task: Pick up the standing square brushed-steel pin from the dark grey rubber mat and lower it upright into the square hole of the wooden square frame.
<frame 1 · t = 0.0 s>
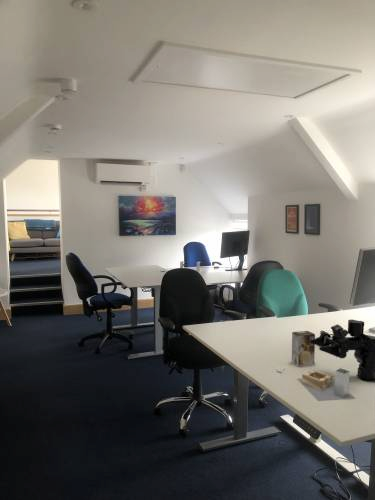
hand: (314, 345, 176), 17 cm above the table, tool horizontal, fingers open, 9 cm apart
steel pin: (341, 394, 164), resting on rubber mat
pliers: (279, 376, 184), on the table
wooden square frame: (317, 384, 174), resting on rubber mat
rubber mat: (324, 389, 170), on the table
coffee box: (302, 365, 197), on the table
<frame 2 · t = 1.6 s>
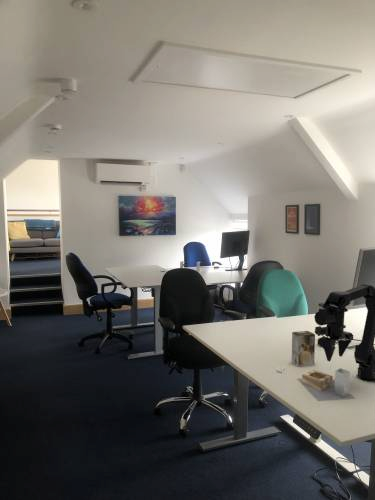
hand: (334, 358, 169), 13 cm above the table, tool pointing down, fingers open, 9 cm apart
nothing on the table moved.
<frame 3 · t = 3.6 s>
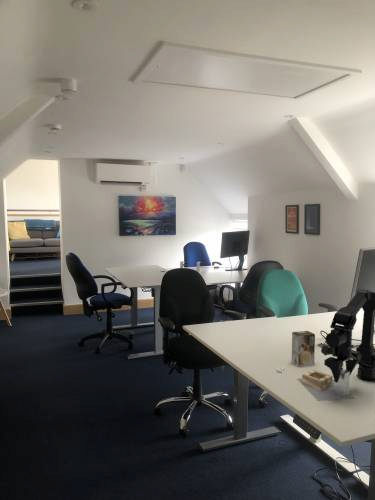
hand: (342, 379, 163), 7 cm above the table, tool pointing down, fingers open, 9 cm apart
nothing on the table moved.
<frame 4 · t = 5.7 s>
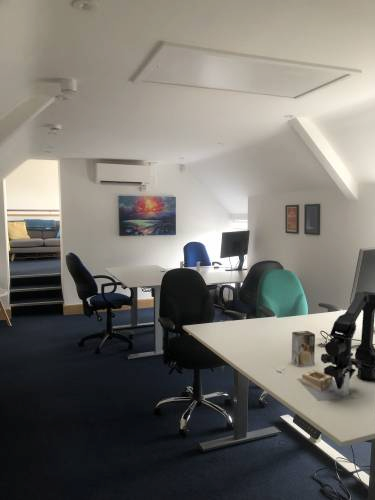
hand: (341, 387, 164), 4 cm above the table, tool pointing down, fingers closed on steel pin, 4 cm apart
steel pin: (341, 394, 164), resting on rubber mat, touching gripper
everything else where it was.
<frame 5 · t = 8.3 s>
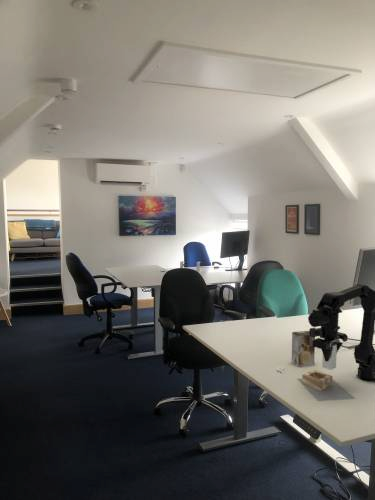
hand: (329, 360, 168), 13 cm above the table, tool pointing down, fingers closed on steel pin, 4 cm apart
steel pin: (329, 367, 168), point 10 cm above the table, touching gripper
everything else where it was.
when the fingers open (6 cm above the table, at t = 11.2 s): steel pin drops 2 cm, resting on rubber mat.
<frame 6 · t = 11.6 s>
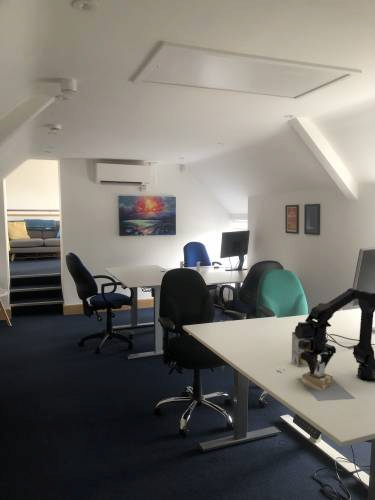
hand: (317, 371, 173), 6 cm above the table, tool pointing down, fingers open, 8 cm apart
steel pin: (317, 384, 174), resting on rubber mat
everything else where it was.
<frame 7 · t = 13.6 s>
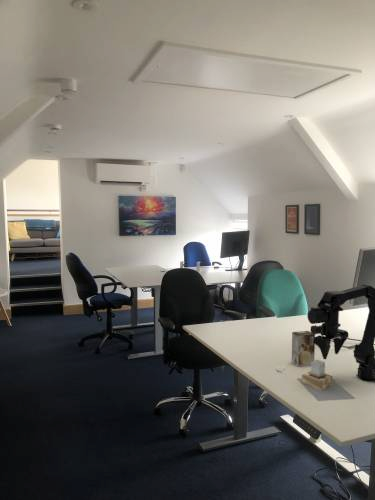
hand: (330, 356, 173), 13 cm above the table, tool pointing down, fingers open, 9 cm apart
nothing on the table moved.
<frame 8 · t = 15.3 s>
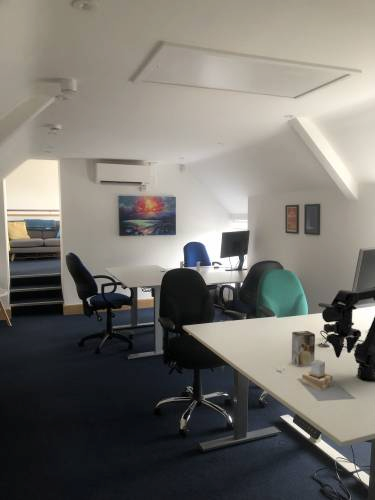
hand: (343, 355, 174), 13 cm above the table, tool pointing down, fingers open, 9 cm apart
nothing on the table moved.
at the end: steel pin 0.1 cm off-centre on the wooden square frame, point 0.0 cm above the wooden square frame's base; steel pin tilted 0°; the gripper is holding nothing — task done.
